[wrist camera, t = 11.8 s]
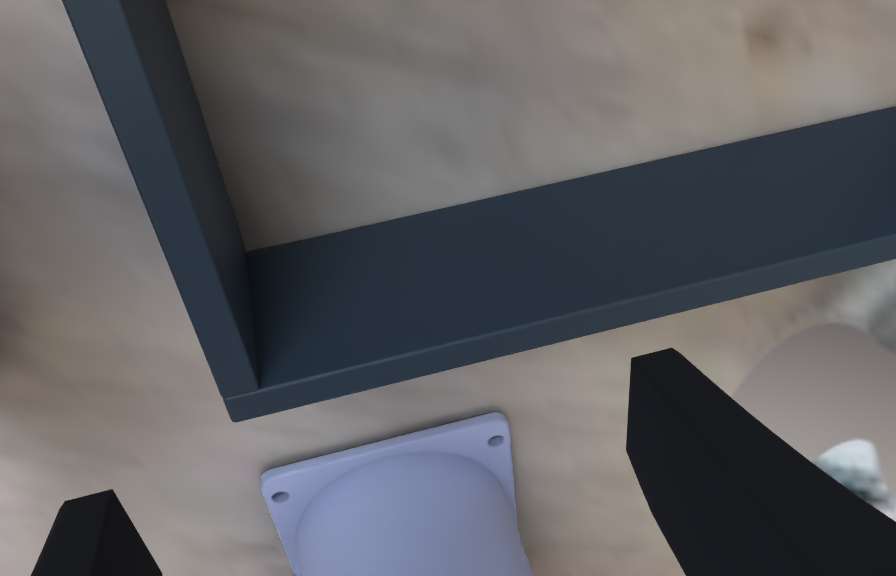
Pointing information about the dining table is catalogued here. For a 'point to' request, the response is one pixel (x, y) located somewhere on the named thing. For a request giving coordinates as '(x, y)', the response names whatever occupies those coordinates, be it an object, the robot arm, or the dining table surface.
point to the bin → (474, 240)
